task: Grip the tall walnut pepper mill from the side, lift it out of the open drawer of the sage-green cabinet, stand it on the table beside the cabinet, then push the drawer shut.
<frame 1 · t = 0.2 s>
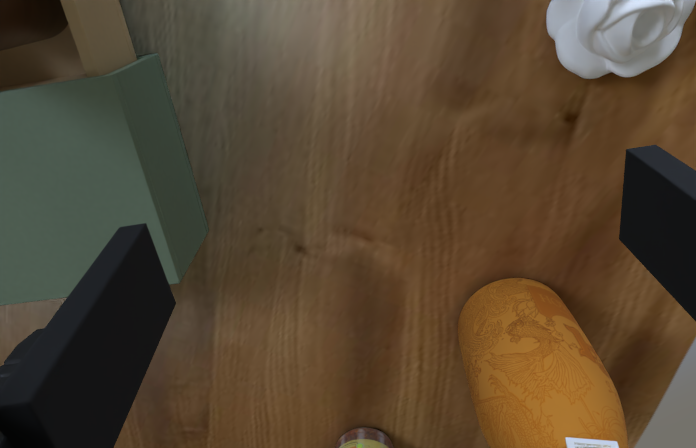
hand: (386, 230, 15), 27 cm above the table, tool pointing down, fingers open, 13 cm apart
sauce bottle: (363, 445, 57), on the table
cabinet: (103, 159, 44), on the table
wine bottle: (508, 316, 49), on the table
rose: (615, 6, 38), on the table
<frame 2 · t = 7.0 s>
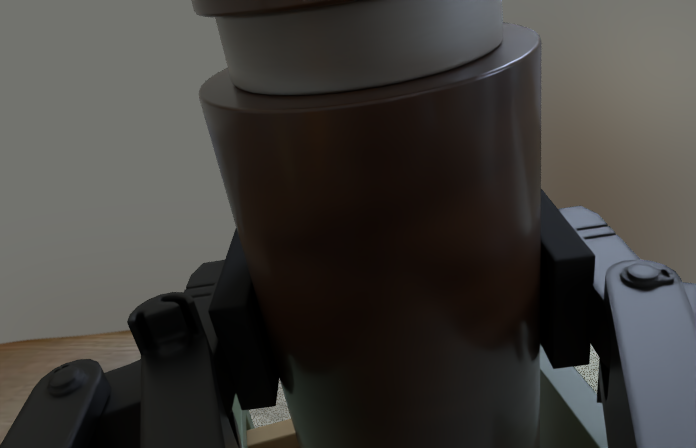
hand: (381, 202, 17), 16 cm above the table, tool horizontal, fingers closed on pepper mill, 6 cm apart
when the fingers open (14 cm above the table, at t = 16.3 s): pepper mill stays where it is, on the table.
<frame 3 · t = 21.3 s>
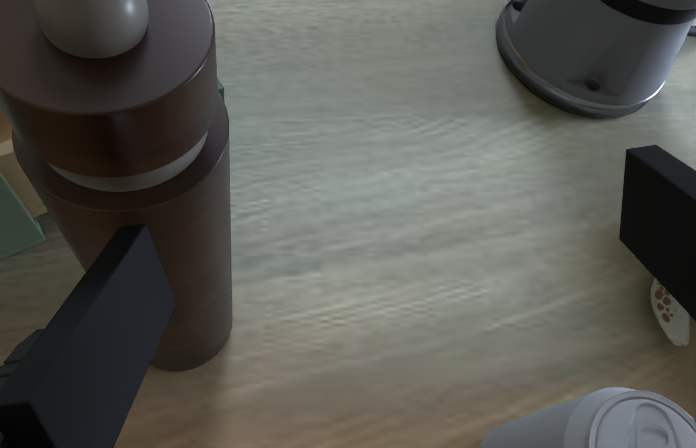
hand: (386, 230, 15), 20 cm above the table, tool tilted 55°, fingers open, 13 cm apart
pepper mill: (180, 320, 33), on the table, touching gripper
drawer: (89, 84, 34), point 4 cm above the table, slide at 11.0 cm
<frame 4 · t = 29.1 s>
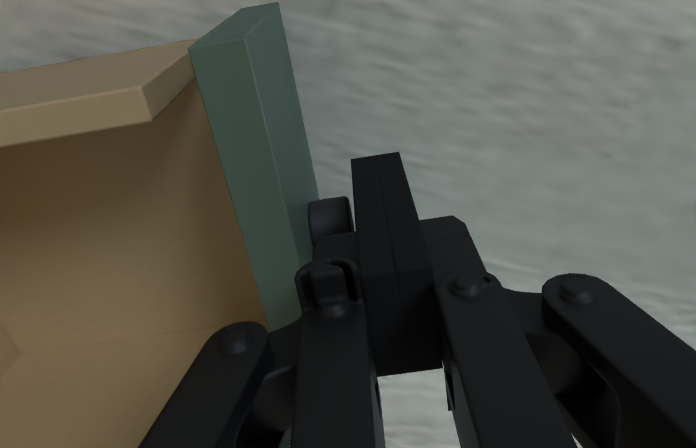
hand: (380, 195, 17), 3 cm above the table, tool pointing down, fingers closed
drawer: (117, 258, 17), point 4 cm above the table, slide at 10.7 cm, touching gripper
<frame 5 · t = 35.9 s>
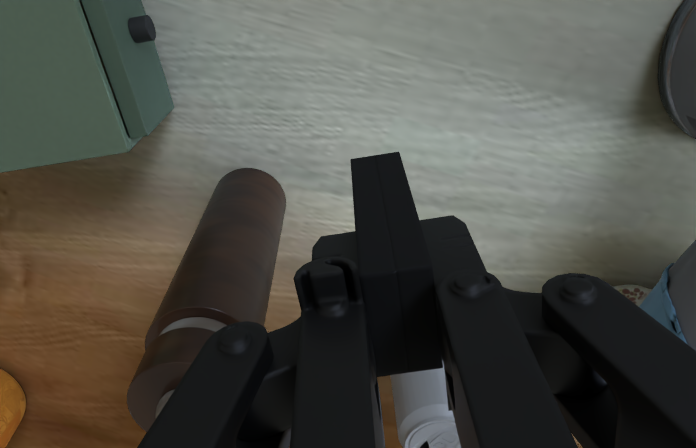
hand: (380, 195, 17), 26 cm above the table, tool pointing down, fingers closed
pepper mill: (250, 201, 46), on the table
cabinet: (40, 41, 40), on the table
drawer: (43, 46, 36), point 4 cm above the table, slide at 0.0 cm, touching cabinet
decorative turtle: (658, 312, 53), on the table
beverage can: (419, 344, 54), on the table
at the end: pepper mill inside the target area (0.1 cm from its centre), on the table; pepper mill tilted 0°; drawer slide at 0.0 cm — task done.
